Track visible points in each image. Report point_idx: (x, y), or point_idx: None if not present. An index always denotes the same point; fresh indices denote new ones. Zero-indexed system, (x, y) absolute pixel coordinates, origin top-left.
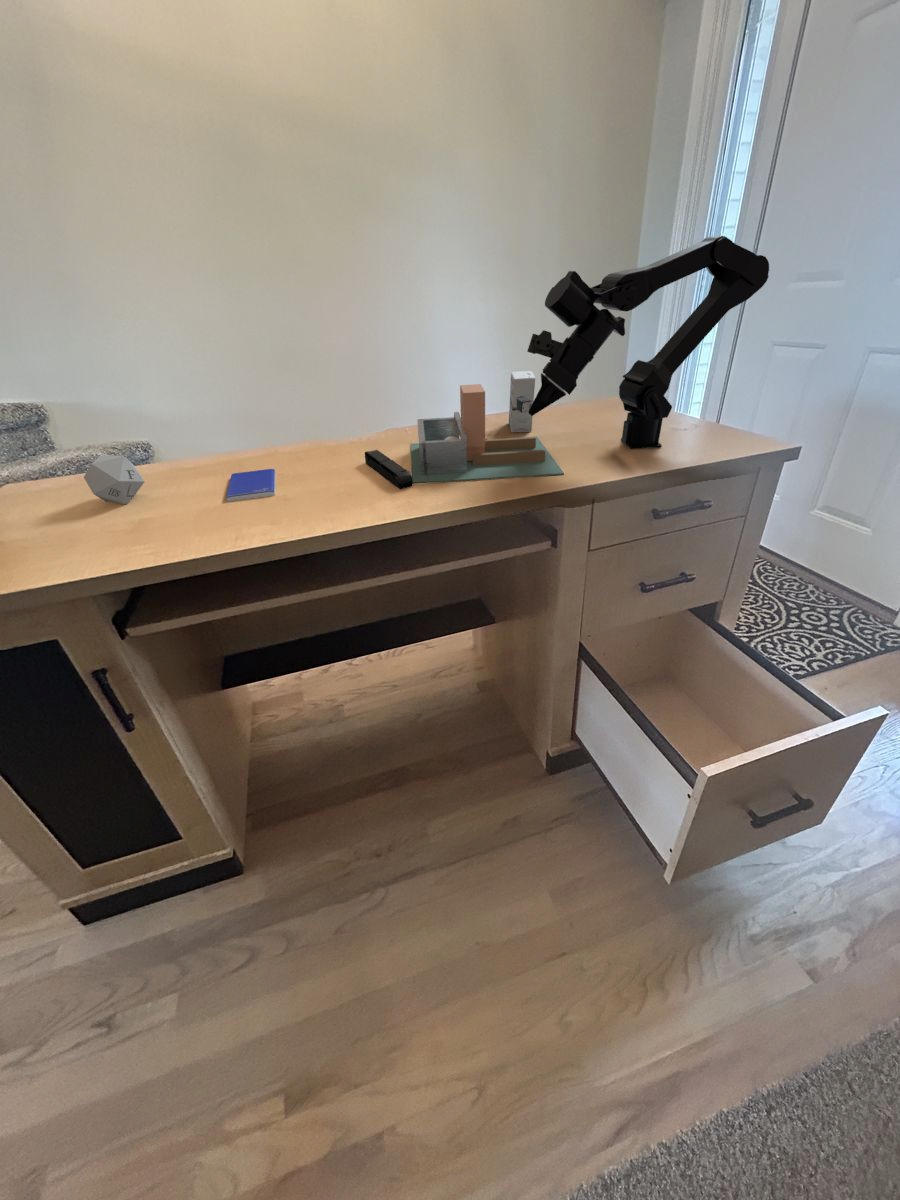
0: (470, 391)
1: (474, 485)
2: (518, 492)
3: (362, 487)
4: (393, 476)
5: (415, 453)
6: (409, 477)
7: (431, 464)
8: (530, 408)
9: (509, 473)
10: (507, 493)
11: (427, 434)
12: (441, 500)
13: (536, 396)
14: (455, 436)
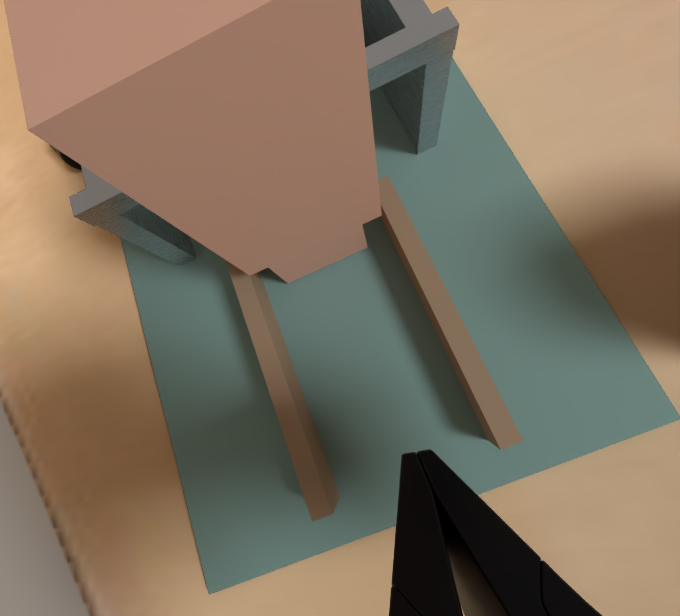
0: (49, 16)
1: (106, 315)
2: (65, 451)
3: None
4: None
5: None
6: (58, 152)
7: None
8: (400, 479)
9: (186, 396)
10: (58, 421)
11: (368, 23)
12: (16, 269)
13: (392, 588)
14: (412, 114)
